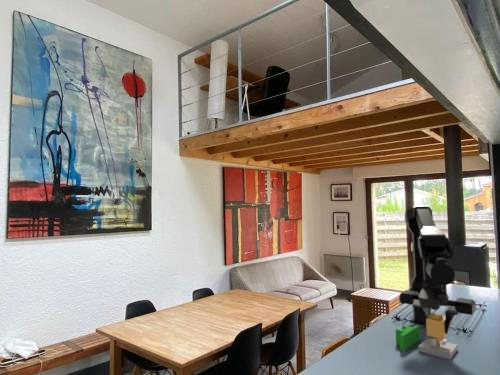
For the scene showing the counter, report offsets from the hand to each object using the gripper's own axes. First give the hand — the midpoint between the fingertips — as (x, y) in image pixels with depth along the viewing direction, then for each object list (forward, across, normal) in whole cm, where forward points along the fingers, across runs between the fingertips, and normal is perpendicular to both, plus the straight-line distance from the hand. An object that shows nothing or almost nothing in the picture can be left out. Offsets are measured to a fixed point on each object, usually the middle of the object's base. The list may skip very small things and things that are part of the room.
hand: (437, 331), depth 98 cm
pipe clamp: (+6, -8, 0) cm, 10 cm away
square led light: (+1, 0, 0) cm, 1 cm away
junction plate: (+5, 0, 0) cm, 5 cm away
